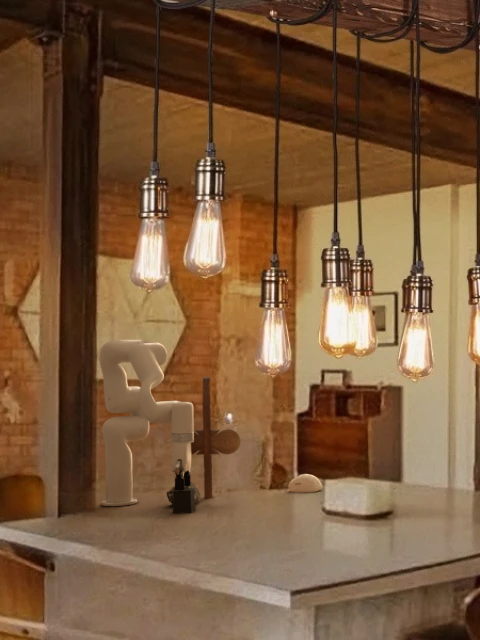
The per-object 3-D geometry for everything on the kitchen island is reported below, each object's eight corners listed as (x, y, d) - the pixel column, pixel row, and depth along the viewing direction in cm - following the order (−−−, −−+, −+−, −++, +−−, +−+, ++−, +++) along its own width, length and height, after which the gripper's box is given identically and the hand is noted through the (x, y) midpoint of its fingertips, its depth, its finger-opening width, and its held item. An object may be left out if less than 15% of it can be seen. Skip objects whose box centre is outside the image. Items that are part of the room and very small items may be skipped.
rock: (200, 499, 384) (181, 478, 385) (179, 518, 383) (160, 497, 383) (206, 493, 402) (188, 473, 403) (186, 511, 401) (168, 490, 402)
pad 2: (177, 503, 377) (177, 496, 377) (194, 502, 377) (194, 495, 377) (173, 505, 371) (173, 498, 371) (191, 505, 371) (191, 497, 371)
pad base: (176, 510, 377) (176, 503, 377) (195, 510, 377) (195, 502, 377) (172, 513, 371) (172, 506, 371) (191, 512, 370) (191, 505, 371)
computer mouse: (292, 489, 421) (292, 473, 422) (324, 489, 418) (323, 473, 418) (286, 491, 415) (286, 475, 416) (318, 491, 412) (318, 475, 412)
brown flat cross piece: (242, 496, 406) (239, 375, 410) (239, 498, 402) (236, 376, 407) (178, 497, 410) (176, 377, 414) (174, 498, 406) (172, 378, 411)
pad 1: (177, 496, 377) (177, 488, 377) (194, 495, 377) (194, 488, 377) (173, 498, 371) (173, 491, 371) (190, 497, 371) (190, 490, 371)
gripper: (177, 435, 385) (177, 484, 383) (165, 440, 368) (166, 492, 366) (198, 435, 385) (198, 484, 383) (188, 440, 367) (188, 491, 366)
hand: (182, 488), depth 375 cm, fingers open, 9 cm apart
